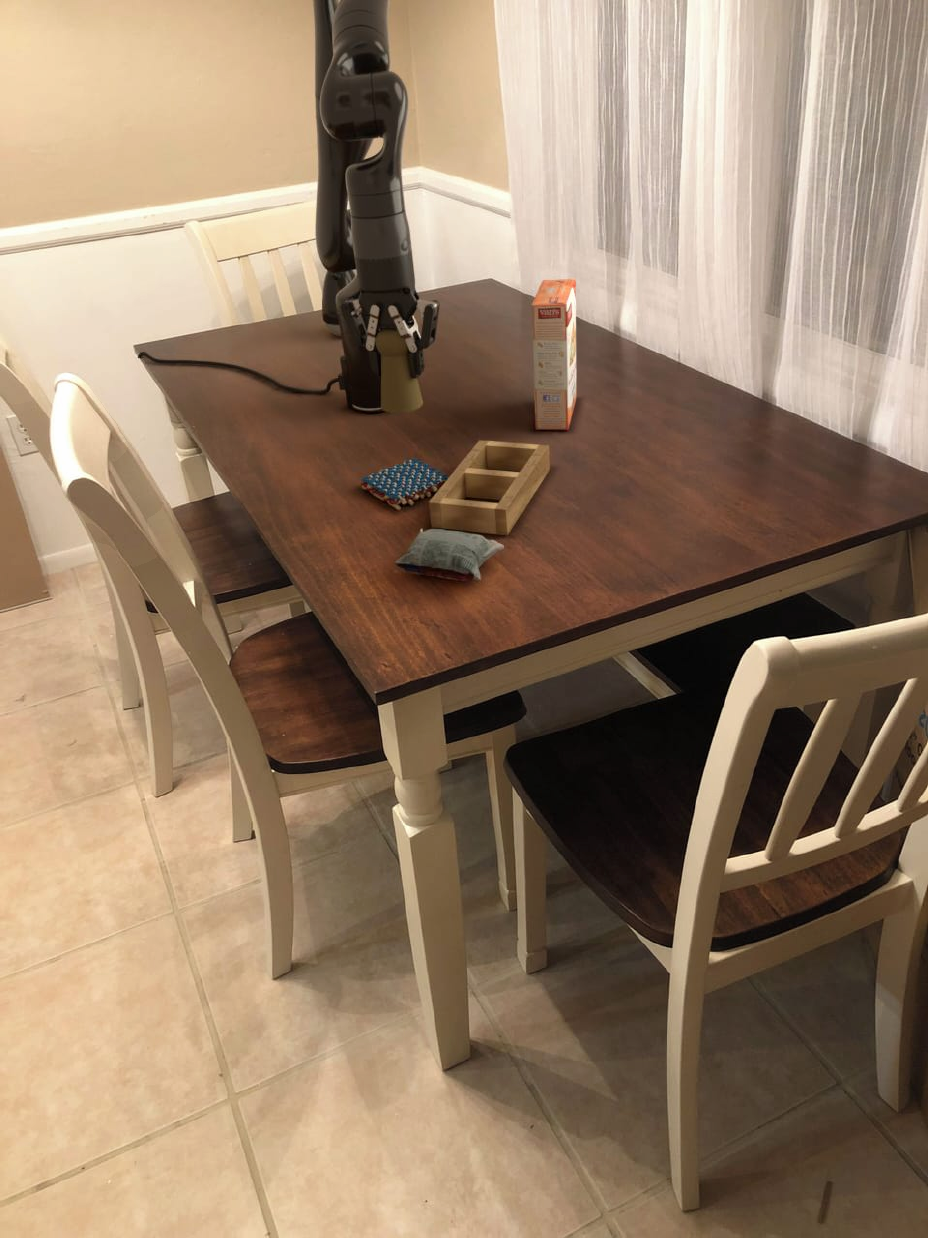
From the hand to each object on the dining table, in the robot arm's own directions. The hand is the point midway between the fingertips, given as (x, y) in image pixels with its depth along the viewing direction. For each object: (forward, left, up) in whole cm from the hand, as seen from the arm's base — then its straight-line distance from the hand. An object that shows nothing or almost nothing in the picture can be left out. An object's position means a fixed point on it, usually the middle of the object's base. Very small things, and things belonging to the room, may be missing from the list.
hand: (398, 374), depth 133 cm
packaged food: (+14, -20, -18) cm, 30 cm away
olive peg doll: (0, 0, -5) cm, 5 cm away
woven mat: (-1, 0, -18) cm, 18 cm away
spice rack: (+13, 0, -18) cm, 22 cm away
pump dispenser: (-44, +68, -18) cm, 83 cm away
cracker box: (+14, +31, -18) cm, 39 cm away
